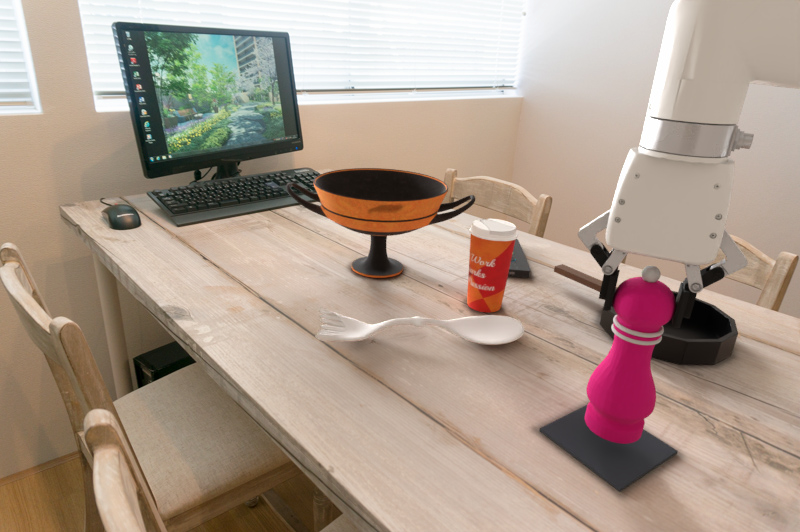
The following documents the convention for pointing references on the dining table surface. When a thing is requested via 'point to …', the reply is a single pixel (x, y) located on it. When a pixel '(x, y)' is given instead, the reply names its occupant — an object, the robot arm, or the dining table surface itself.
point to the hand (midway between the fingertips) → (641, 312)
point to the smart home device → (519, 263)
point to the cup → (380, 208)
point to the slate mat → (608, 450)
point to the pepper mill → (630, 359)
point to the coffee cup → (489, 263)
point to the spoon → (468, 328)
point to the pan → (678, 329)
